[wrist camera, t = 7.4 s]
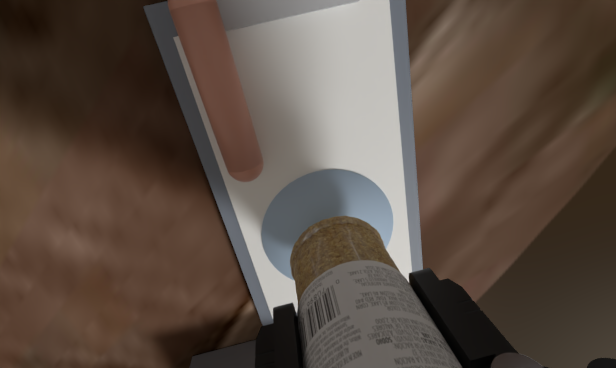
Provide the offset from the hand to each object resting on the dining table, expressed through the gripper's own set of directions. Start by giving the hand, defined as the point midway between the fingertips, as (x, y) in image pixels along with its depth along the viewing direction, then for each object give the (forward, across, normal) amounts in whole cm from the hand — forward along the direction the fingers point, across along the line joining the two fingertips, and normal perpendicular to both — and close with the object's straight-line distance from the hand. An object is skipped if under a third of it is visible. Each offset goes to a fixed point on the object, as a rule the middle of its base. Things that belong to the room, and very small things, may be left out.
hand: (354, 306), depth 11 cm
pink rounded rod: (+6, +3, -8) cm, 10 cm away
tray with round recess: (+6, 0, -3) cm, 7 cm away
